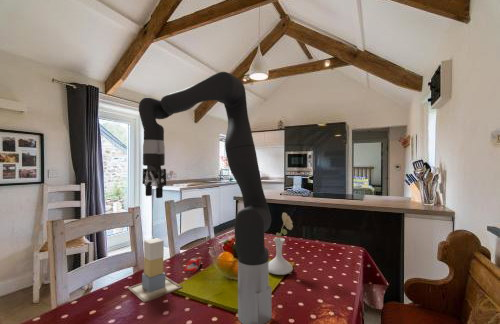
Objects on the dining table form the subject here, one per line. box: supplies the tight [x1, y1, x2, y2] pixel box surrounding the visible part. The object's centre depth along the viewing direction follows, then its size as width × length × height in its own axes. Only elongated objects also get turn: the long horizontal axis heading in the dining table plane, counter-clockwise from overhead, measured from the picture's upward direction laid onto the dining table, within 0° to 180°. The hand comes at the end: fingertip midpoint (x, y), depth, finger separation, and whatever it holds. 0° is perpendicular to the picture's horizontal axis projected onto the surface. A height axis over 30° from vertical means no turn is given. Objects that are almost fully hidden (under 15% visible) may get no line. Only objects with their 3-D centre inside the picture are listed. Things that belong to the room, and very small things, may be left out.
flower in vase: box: [269, 212, 294, 276], centre depth 108 cm, size 13×11×25 cm
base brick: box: [141, 271, 166, 293], centre depth 92 cm, size 6×6×5 cm
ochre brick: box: [143, 256, 164, 278], centre depth 92 cm, size 5×5×6 cm
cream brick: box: [143, 237, 165, 261], centre depth 93 cm, size 5×5×6 cm
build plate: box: [127, 275, 183, 304], centre depth 92 cm, size 14×14×1 cm
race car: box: [183, 257, 202, 274], centre depth 111 cm, size 13×5×4 cm, turn 178°
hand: (153, 196), depth 93 cm, fingers open, 8 cm apart
